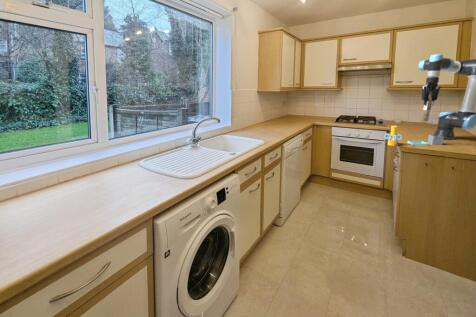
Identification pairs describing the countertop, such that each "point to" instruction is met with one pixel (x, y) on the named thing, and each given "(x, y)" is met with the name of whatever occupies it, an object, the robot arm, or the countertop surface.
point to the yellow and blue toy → (393, 136)
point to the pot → (435, 139)
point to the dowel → (426, 115)
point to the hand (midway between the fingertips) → (427, 109)
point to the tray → (418, 143)
